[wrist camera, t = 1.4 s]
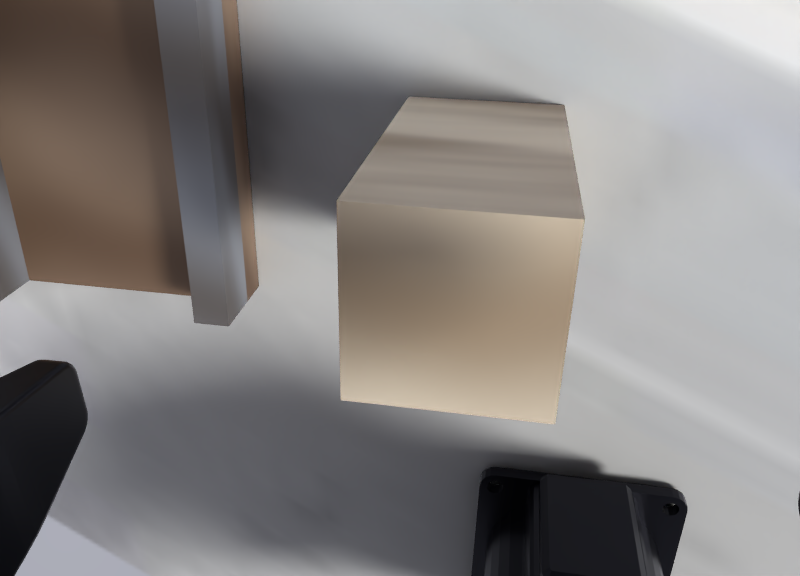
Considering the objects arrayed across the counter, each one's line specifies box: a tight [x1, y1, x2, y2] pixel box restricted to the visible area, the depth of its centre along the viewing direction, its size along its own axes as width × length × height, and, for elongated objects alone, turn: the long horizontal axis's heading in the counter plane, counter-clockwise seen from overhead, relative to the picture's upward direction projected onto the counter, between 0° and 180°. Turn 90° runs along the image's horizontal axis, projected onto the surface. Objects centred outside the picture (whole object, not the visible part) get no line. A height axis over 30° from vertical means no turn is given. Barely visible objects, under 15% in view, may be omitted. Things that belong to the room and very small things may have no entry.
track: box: [0, 0, 259, 326], centre depth 19 cm, size 14×10×2 cm
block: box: [336, 96, 585, 424], centre depth 16 cm, size 4×4×8 cm
